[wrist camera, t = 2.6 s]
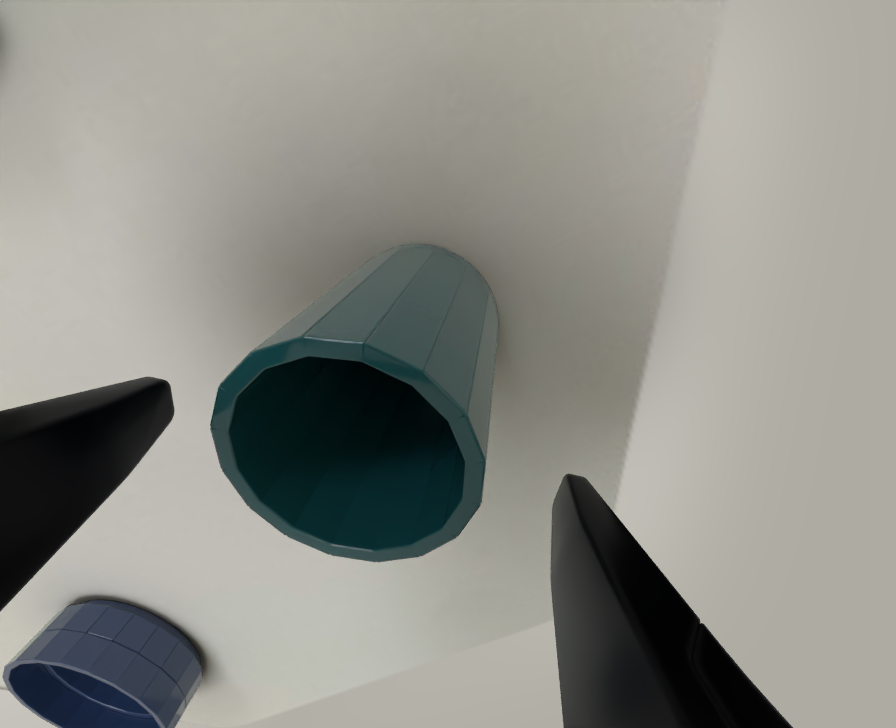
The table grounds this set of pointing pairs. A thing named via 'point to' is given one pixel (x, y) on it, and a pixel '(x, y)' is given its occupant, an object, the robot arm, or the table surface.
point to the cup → (369, 410)
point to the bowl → (106, 669)
